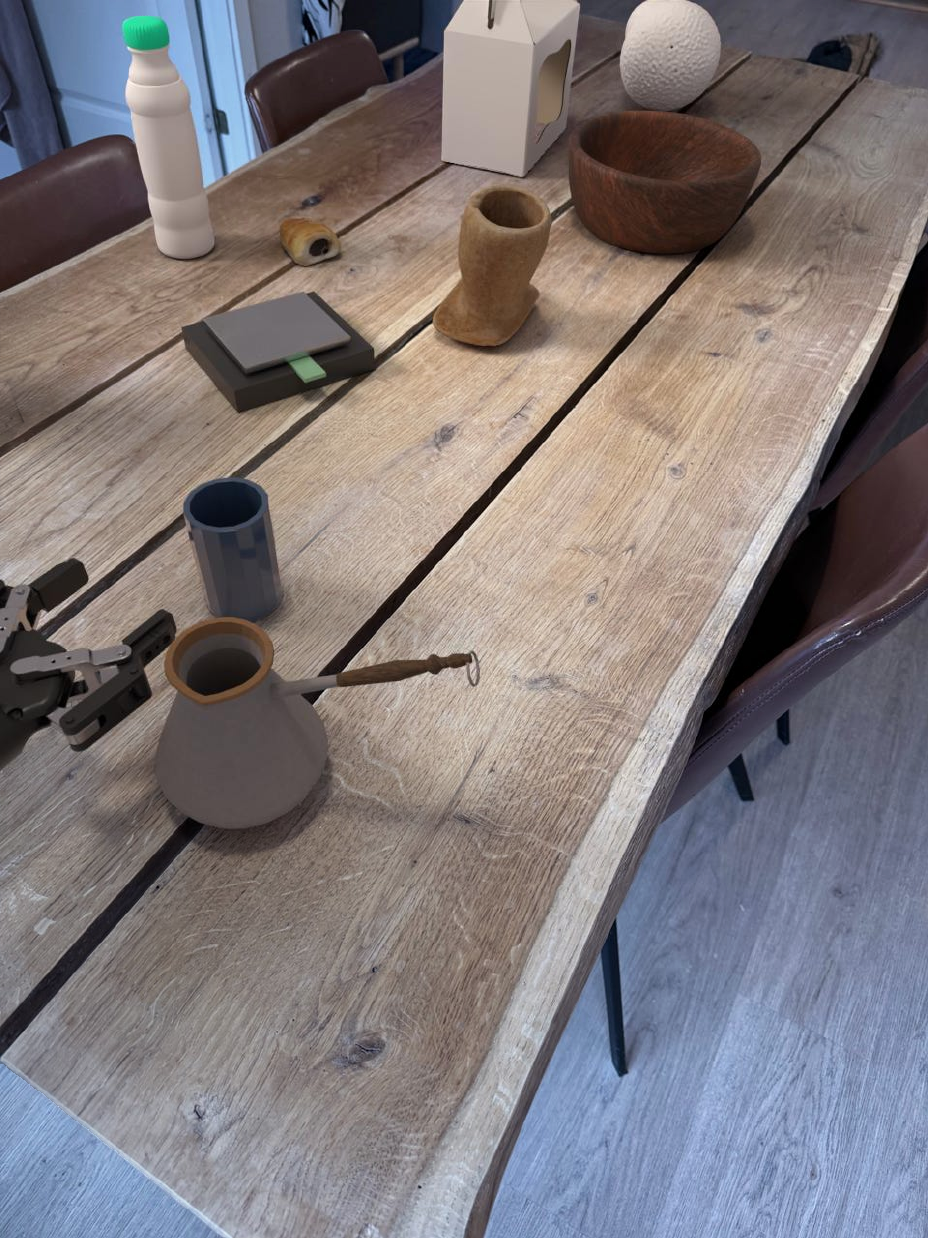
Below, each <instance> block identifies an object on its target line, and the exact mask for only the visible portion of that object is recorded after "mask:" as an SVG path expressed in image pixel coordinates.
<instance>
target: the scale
mask: <svg viewBox="0 0 928 1238" xmlns="http://www.w3.org/2000/svg"><path fill="white" fill-rule="evenodd" d="M305 293H306V292H305ZM306 294H307V295H308V296H309V297H310V298H311V299H312V300H313V301H314V302H315V303H316V304H317V305H318V306H319V307H320V308H321V309H322V310H323V311H324V312H325V313H326V314H327V315H328V316H329V317H330V318H332V319H333V320H334V321H335V322H336V323H337V324H338V325H339V326H340V327H341V328H342V329H343V330H344V331H345V332H346V333H347V334H348V335H349V336H350V340H351V343H349V344H346V345H342V346H339V347H336V348H332V349H329V350H325V351H322V352H319V353H315V354H312V355H309V356H305V357H302V358H299V359H295V360H292V361H289V362H285V363H282V364H279V365H275V366H272V367H269V368H265V369H262V370H259V371H255V372H252V373H248V374H245V373H244V371H243V370H242V369H241V368H240V367H239V366H238V364H237V363H236V362H235V361H234V360H233V359H232V357H231V356H230V355H229V354H228V353H227V352H226V350H225V349H224V348H223V347H222V346H221V345H220V343H219V342H218V341H217V340H216V339H215V338H214V336H213V335H212V334H211V333H210V332H209V331H208V329H207V328H206V327H205V326H204V325H203V320H202V321H199V322H194V323H191V324H188V325H184V326H181V327H180V328H181V333H182V338H183V343H184V347H185V350H186V351H187V352H188V353H189V354H190V355H191V357H192V358H193V359H194V360H195V362H196V363H197V364H198V365H199V367H200V368H201V369H202V371H204V373H205V374H206V375H207V376H208V378H209V379H210V380H211V381H212V382H213V384H214V385H215V386H216V388H217V389H218V390H219V391H220V393H221V394H222V395H223V396H224V397H225V399H226V400H227V401H228V402H229V404H230V405H231V406H232V407H233V409H234V410H235V411H236V412H237V413H241V412H245V411H248V410H251V409H253V408H257V407H260V406H263V405H267V404H270V403H272V402H276V401H280V400H283V399H286V398H290V397H292V396H295V395H298V394H301V393H305V392H307V391H312V390H315V389H316V388H317V389H318V388H321V387H324V386H326V385H327V386H328V385H330V384H333V383H336V382H339V381H342V380H346V379H349V378H352V377H355V376H359V375H362V374H365V373H368V372H371V371H374V370H376V360H375V359H376V357H375V347H374V346H372V345H371V344H370V343H369V342H368V341H367V339H365V338H364V337H363V335H361V334H360V333H359V331H357V330H356V329H355V328H353V327H352V326H351V324H349V323H348V322H347V321H346V320H345V319H344V318H343V317H342V316H341V315H340V314H339V313H338V312H337V311H336V310H335V309H334V308H332V306H331V305H330V304H328V303H327V302H326V301H325V300H324V299H323V298H322V297H321V296H320V295H319V294H318V293H316V291H311V292H310V291H309V292H307V293H306Z"/></svg>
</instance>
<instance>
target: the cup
mask: <svg viewBox="0 0 928 1238" xmlns="http://www.w3.org/2000/svg"><path fill="white" fill-rule="evenodd" d="M182 514H183V518H184V522H185V527H186V530H187V534H188V538H189V542H190V546H191V549H192V554H193V557H194V558H193V559H194V562H195V566H196V570H197V574H198V577H199V581H200V586H201V591H202V594H203V597H204V601H205V603H206V607H207V609H208V610H209V612H210V613H211V614H212V615H213V616H214V617H215V618H219V617H234V618H239V619H244V620H247V621H249V622H252V623H255V622H258V621H260V620H263V619H264V618H267V617H268V616H270V615H271V614H272V613H274V611H275V610H277V609H278V607H279V606H280V604H281V602H282V599H283V592H284V591H283V586H282V578H281V571H280V564H279V558H278V551H277V545H276V538H275V532H274V526H273V525H274V524H273V520H272V513H271V506H270V500H269V495H268V493H267V492H266V491H265V489H264V488H263V487H262V485H260V484H258V483H256V482H255V481H252V480H251V479H248V478H241V477H235V476H229V477H218V478H214V479H211V480H208V481H205V482H203V483H201V484H200V485H198V486H197V487H195V488H194V489H192V490H191V491H190V492H189V493H188V494H187V496H186V498H185V500H184V501H183V505H182Z"/></svg>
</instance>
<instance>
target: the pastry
mask: <svg viewBox="0 0 928 1238" xmlns="http://www.w3.org/2000/svg"><path fill="white" fill-rule="evenodd" d="M278 232H279V239H280V240H281V244H282V245H281V246H283V250H284V251H286V252H287V254H288V256H289V257H290V258H291V259H292V260H293V262H294V263H295V264H297V265H300V266H303V267H309V266H312V265H316V264H318V263H321V262H322V261H324V260H329V259H332V258H334V257H336V256H337V255H338V254H339V253H340V251H341V247H342V243H341V241H340V240H339V238H338V235H336V233H335V231H333V230H332V229H331V228H330V227H329V226H327V225H326V223H324V222H322V221H316V220H313V219H311V218H305V217H300V218H293V217H290V218H287V219H285V220H284V221H282V223H281V224H280V226H279V228H278Z"/></svg>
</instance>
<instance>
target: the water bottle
mask: <svg viewBox="0 0 928 1238" xmlns="http://www.w3.org/2000/svg"><path fill="white" fill-rule="evenodd" d="M121 25H122V26H121V29H122V35H123V39H124V43H125V45H126V49H127V50H128V51H129V52H130V53H131V57H132V58H131V63H130V66H129V69H128V78H127V81H126V85H125V91H124V92H125V93H124V94H125V102H126V105H127V107H128V108H129V111H130V117H131V126H132V132H133V137H134V143H135V148H136V152H137V157H138V161H139V166H140V169H141V174H142V177H143V180H144V185H145V187H146V190H147V202H148V206H149V212H150V215H151V217H152V220H153V230H154V236H155V242H156V246H157V248H158V250H159V251H160V252H161V253H162V254H163V255H165V256H166V257H170V258H172V259H178V260H191V259H196V258H200V257H203V256H204V255H207V254H208V253H209V252H211V250H213V249H214V246H215V234H214V230H213V225H212V221H211V219H210V207H209V199H208V195H207V192H206V189H205V188H204V175H203V165H202V160H201V153H200V146H199V141H198V135H197V131H196V130H197V129H196V126H195V121H194V115H193V113H192V109H191V102H192V99H191V93H190V89H189V87H188V86H187V84H186V82H185V81H184V79H183V78H182V76H181V75H180V73H179V70H178V68H177V66H176V65H175V63H173V61H172V60H171V58H170V57H169V49H170V47H171V45H170V42H171V41H170V32H169V28H168V25H167V22H165V20H164V19H163V18H160V17H158V16H154V15H135V16H131V17H128V18H126V19H125V20H124V21H123V22H122V24H121Z"/></svg>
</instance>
